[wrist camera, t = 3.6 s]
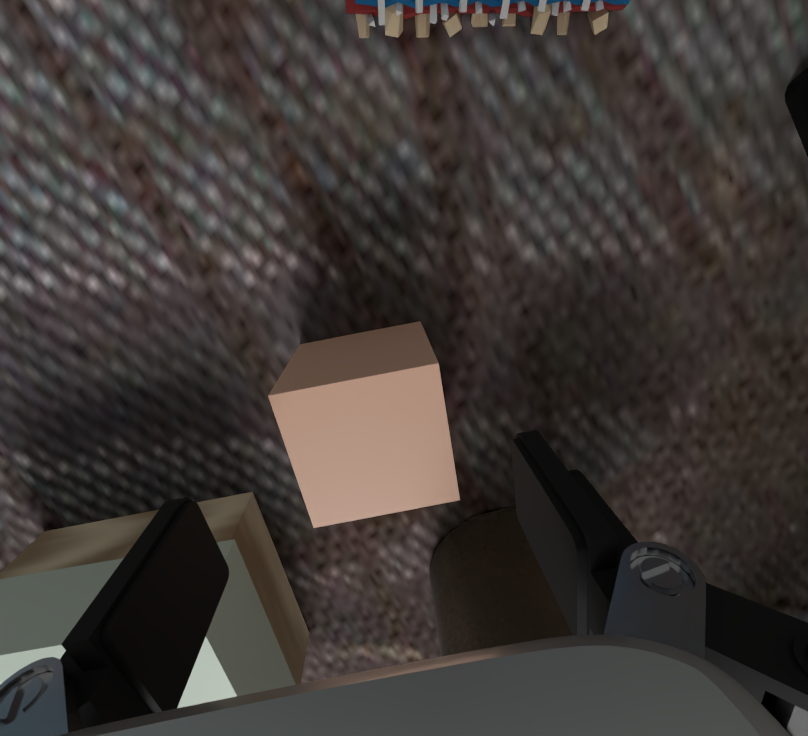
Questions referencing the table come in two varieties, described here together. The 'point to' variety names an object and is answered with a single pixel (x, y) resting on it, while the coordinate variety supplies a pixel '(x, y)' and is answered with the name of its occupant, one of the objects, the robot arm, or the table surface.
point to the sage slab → (219, 655)
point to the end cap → (799, 105)
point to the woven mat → (476, 13)
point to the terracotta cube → (366, 425)
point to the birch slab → (226, 523)
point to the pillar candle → (491, 587)
